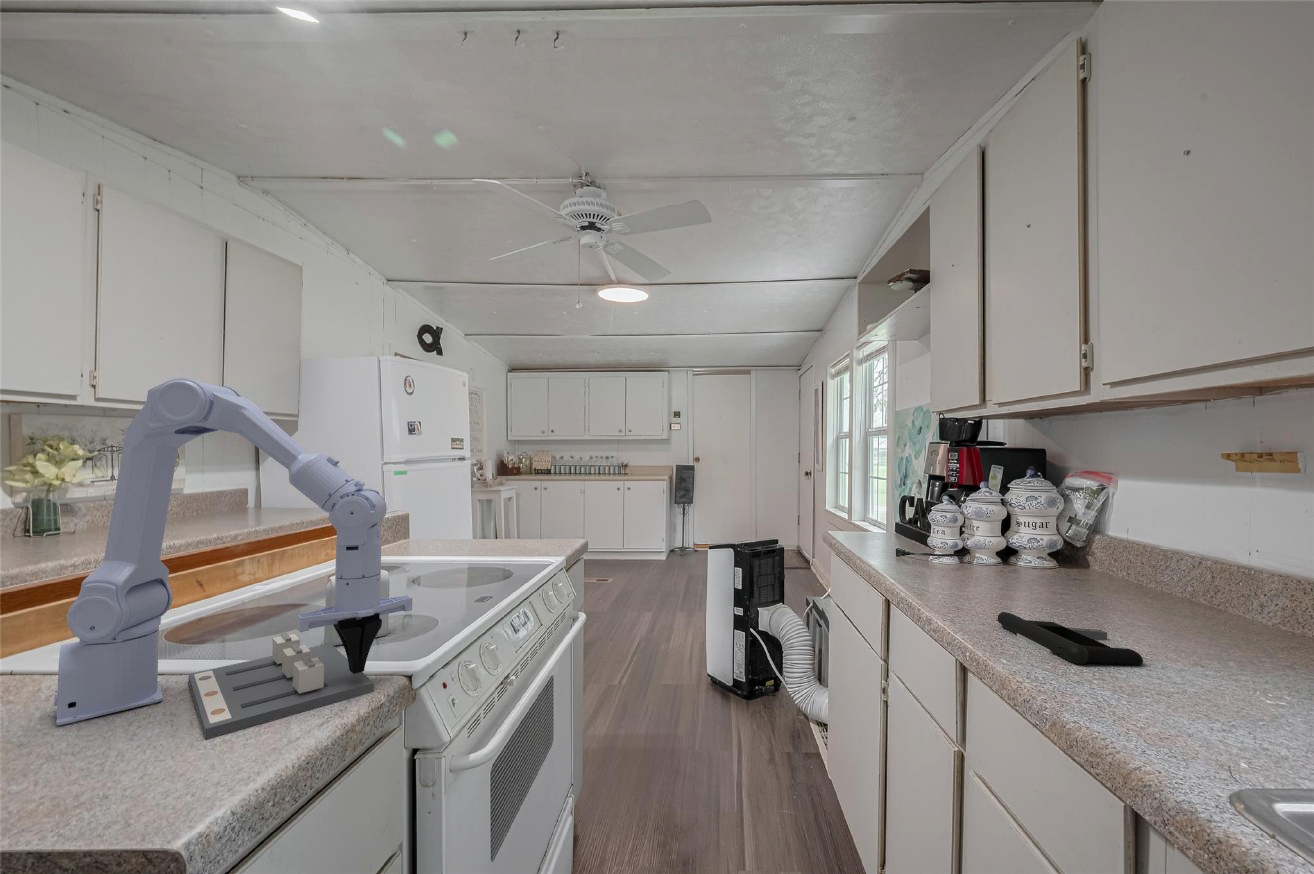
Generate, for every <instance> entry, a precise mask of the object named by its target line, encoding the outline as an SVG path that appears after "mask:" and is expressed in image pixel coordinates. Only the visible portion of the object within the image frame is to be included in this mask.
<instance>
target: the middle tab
mask: <svg viewBox="0 0 1314 874" xmlns="http://www.w3.org/2000/svg"><path fill="white" fill-rule="evenodd" d="M308 648H309V647H308V646H307V645H306V644H301V645H299V646H298V645H297V644H294V645H291V648H288V649H283V650H282V671H283V673H284V674H285V675H286V677H287V678H289V677H293V663H295V662H299V661H302V658H304V657H309V658H310V659H311V651H310V650H309V649H308Z"/></svg>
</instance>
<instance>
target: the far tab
mask: <svg viewBox="0 0 1314 874" xmlns="http://www.w3.org/2000/svg"><path fill="white" fill-rule="evenodd" d="M300 640H301V639H300V638H299V637H298V636H297V635H296V634H295V633H292V634H288V633H287V632H284V633H280V636H276V637H275V636H274V637H273V638H272V650H271V651H272V652H271V653H272V655H271V656H272V658H273V659H274V661H275V662H276V663H277V664H280V663H282V650H283V649H288V648H291V645H294V644H297V645H298V646H300V645H301V644H300V642H301V641H300Z"/></svg>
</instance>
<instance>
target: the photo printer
mask: <svg viewBox="0 0 1314 874" xmlns="http://www.w3.org/2000/svg"><path fill="white" fill-rule="evenodd" d="M390 586H391V585H390V576H389V572H388V571H387V570H383V569H381V587H380V599H381V598H390ZM324 605H325V606H324V608H328V607H332V606H335V574H334V575H332V576H331V577H328V579H327V583H326V587H325V603H324ZM389 614H390V613H389ZM389 614H384V615H380V619H382V626H381V628H380V630H379V631H378V633H377V635H376V637H375V638H379V637H384V636H385V637H386V636H387V635H388V634H389V617H390V616H389ZM323 632H324V635H323V636H324V637H323V639H324V640H323V645H325V644H332V645H333V646H334V647H335V646H339V645H343V644H342V641H341V639H340V637H339V635H338V633H337V631H336V630H335V628H334V626H333V625H328V626H324V631H323Z"/></svg>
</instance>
